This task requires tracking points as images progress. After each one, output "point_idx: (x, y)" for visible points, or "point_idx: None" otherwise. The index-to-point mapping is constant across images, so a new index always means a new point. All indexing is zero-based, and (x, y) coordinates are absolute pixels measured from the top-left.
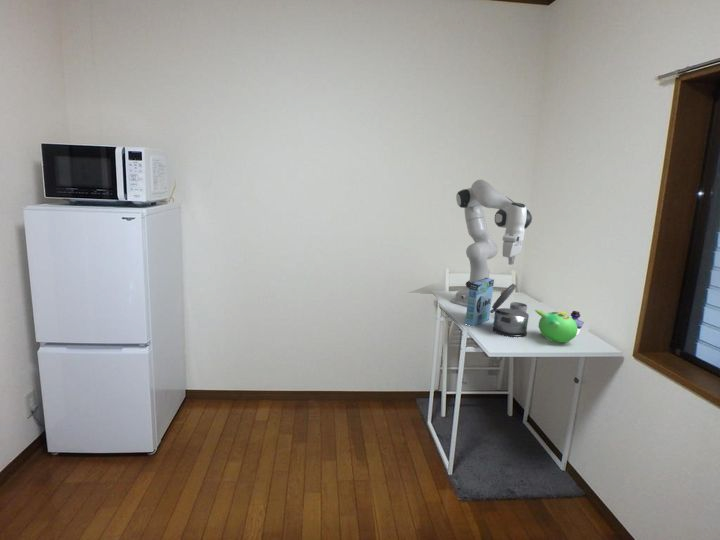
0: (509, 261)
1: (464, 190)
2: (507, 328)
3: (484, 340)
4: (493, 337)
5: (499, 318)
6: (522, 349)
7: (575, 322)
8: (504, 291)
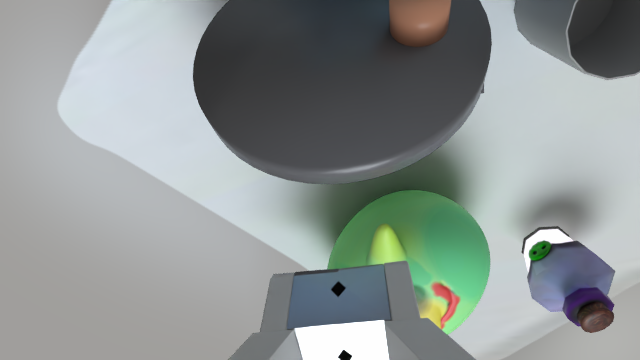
0: (266, 334)
1: None
2: None
3: (114, 39)
4: (192, 46)
5: None
6: (181, 189)
7: (539, 296)
8: (212, 125)
